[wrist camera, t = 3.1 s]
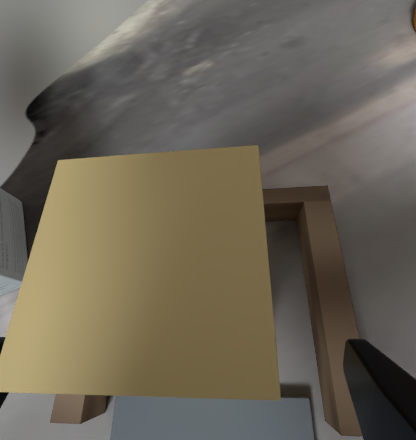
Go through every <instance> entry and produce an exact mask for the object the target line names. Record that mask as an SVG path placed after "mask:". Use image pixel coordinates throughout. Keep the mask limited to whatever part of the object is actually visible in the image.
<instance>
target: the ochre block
mask: <svg viewBox="0 0 416 440" xmlns="http://www.w3.org/2000/svg"><path fill="white" fill-rule="evenodd" d="M0 392H14V393H47V394H80V395H113V396H146V397H178V398H211V399H244V400H277V401H281V395H280V383H279V372H278V361H277V350H276V338H275V327H274V316H273V305H272V293H271V282H270V271H269V260H268V248H267V237H266V226H265V214H264V203H263V192H262V181H261V169H260V158H259V147H258V145H251V146H238V147H225V148H212V149H198V150H185V151H172V152H159V153H146V154H133V155H119V156H106V157H93V158H80V159H67V160H58V162H57V166H56V169H55V172H54V176H53V179H52V182H51V186H50V189H49V193H48V196H47V199H46V203H45V206H44V209H43V213H42V216H41V220H40V223H39V226H38V230H37V233H36V236H35V240H34V243H33V246H32V250H31V253H30V257H29V260H28V263H27V267H26V270H25V273H24V277H23V280H22V284H21V287H20V290H19V294H18V297H17V300H16V304H15V307H14V311H13V314H12V317H11V321H10V324H9V327H8V331H7V334H6V338H5V341H4V344H3V348H2V351H1V354H0Z"/></svg>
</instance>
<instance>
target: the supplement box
mask: <svg viewBox="0 0 416 440" xmlns="http://www.w3.org/2000/svg"><path fill="white" fill-rule="evenodd" d="M27 263H28V259H27V247H26V235H25V225H24V213H23V207H22V202H21V201H20V200H18V199H17V198H15V197H14V196H12V195H10V194H9V193H7V192H6V191H4V190H3V189H1V188H0V296H1V295H4V294H6V293H8V292H11V291H13V290H15V289H18V288H20V287H21V284H22V280H23V277H24V273H25V270H26V267H27Z"/></svg>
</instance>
